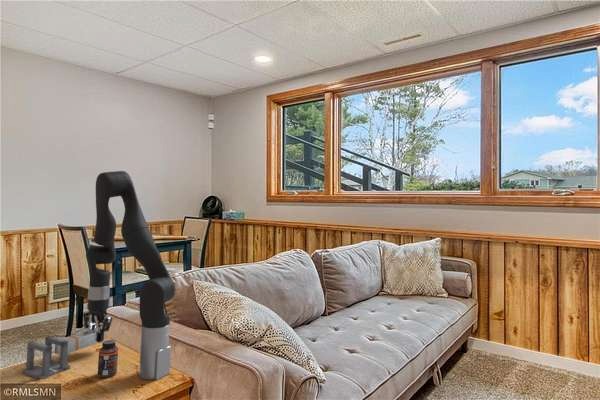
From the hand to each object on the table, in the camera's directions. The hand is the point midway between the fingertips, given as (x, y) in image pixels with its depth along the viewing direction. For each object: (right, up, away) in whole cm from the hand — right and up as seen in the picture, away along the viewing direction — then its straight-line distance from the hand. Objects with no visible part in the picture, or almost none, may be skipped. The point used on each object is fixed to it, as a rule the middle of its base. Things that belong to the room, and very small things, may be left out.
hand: (96, 340), depth 149 cm
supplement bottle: (+14, -5, -18) cm, 24 cm away
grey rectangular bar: (-3, 0, -6) cm, 7 cm away
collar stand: (-8, -4, -18) cm, 20 cm away
